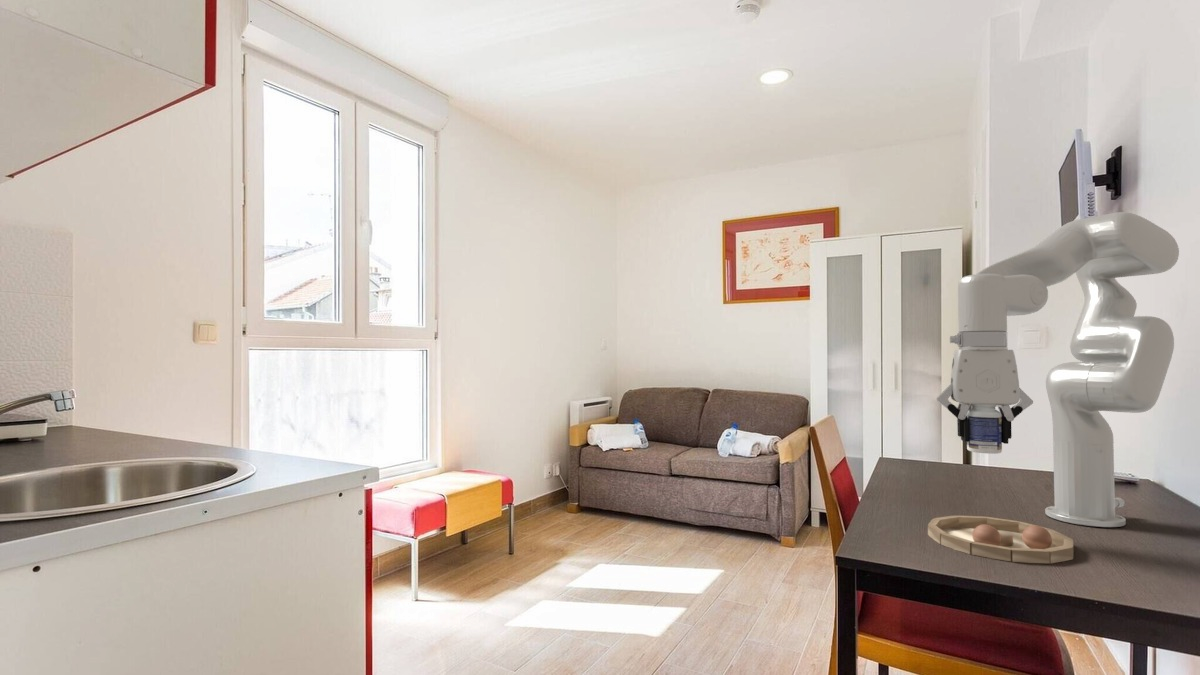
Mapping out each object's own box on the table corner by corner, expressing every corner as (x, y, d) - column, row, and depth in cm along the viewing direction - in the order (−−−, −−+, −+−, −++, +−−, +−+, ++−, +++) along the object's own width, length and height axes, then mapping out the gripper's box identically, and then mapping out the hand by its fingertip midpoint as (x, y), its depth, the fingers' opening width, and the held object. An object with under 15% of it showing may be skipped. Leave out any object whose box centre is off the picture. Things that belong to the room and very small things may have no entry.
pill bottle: (1007, 454, 106) (1006, 399, 106) (973, 453, 107) (973, 398, 107) (994, 450, 111) (993, 397, 111) (962, 449, 112) (961, 396, 113)
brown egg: (983, 544, 102) (983, 520, 102) (1007, 551, 98) (1006, 526, 98) (966, 547, 100) (966, 522, 100) (990, 554, 97) (989, 529, 97)
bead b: (1032, 545, 101) (1032, 521, 101) (1058, 552, 98) (1057, 527, 98) (1016, 548, 100) (1016, 523, 100) (1042, 555, 96) (1041, 530, 96)
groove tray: (982, 526, 116) (981, 511, 116) (1102, 559, 97) (1102, 542, 97) (903, 537, 109) (903, 522, 109) (1017, 576, 90) (1017, 557, 90)
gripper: (933, 341, 109) (935, 442, 108) (1045, 341, 103) (1047, 447, 103) (926, 342, 116) (927, 436, 116) (1030, 342, 110) (1032, 441, 110)
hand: (984, 440), depth 109 cm, fingers closed on pill bottle, 5 cm apart
